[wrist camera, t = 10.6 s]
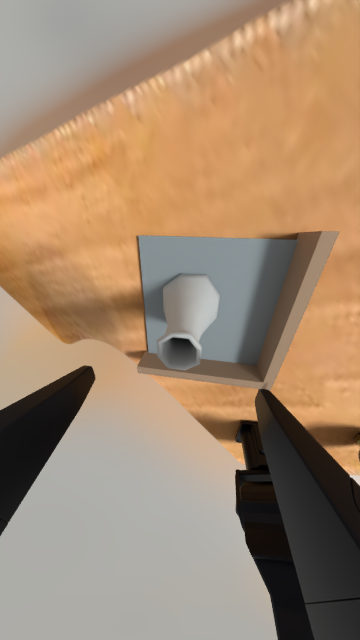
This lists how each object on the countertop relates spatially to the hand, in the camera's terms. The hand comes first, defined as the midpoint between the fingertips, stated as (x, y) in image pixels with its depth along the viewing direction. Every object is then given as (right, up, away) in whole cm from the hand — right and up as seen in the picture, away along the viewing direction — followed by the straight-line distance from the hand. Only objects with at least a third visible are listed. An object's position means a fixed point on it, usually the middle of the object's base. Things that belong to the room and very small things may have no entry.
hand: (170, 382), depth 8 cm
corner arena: (+4, +5, +12) cm, 13 cm away
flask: (+2, +6, +11) cm, 13 cm away
